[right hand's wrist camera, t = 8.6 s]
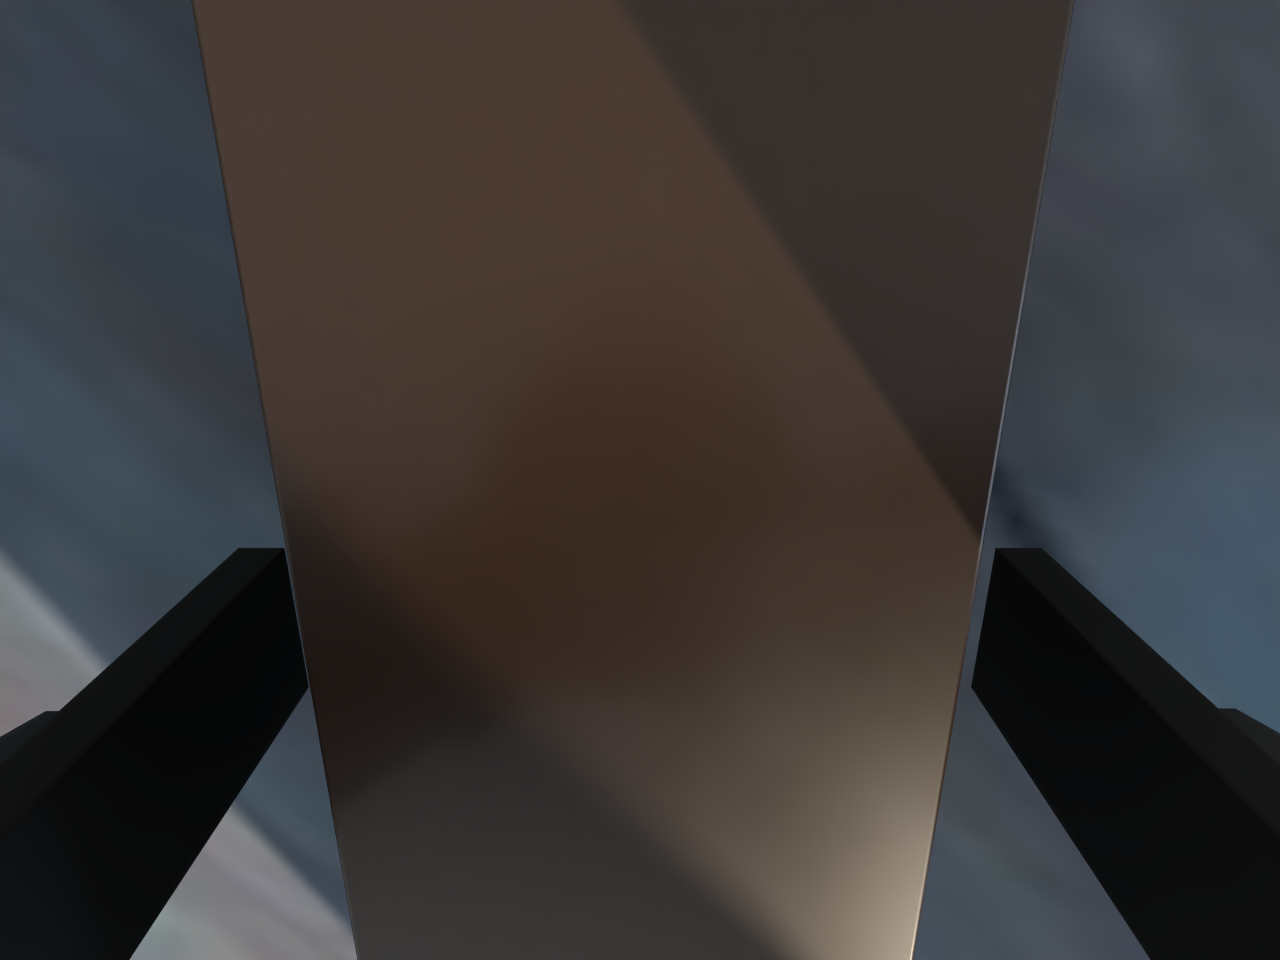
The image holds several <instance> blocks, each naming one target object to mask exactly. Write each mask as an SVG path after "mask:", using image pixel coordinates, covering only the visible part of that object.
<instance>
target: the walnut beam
mask: <svg viewBox="0 0 1280 960" xmlns="http://www.w3.org/2000/svg"><path fill="white" fill-rule="evenodd" d="M191 1H192V7H193V12H194V18H195V24H196V30H197V36H198V41H199V47H200V53H201V59H202V64H203V70H204V76H205V82H206V88H207V93H208V99H209V105H210V111H211V116H212V122H213V128H214V134H215V140H216V145H217V151H218V157H219V163H220V168H221V174H222V180H223V186H224V191H225V197H226V203H227V209H228V215H229V220H230V226H231V232H232V238H233V243H234V249H235V255H236V261H237V267H238V272H239V278H240V284H241V290H242V295H243V301H244V307H245V313H246V319H247V324H248V330H249V336H250V342H251V347H252V353H253V359H254V365H255V371H256V376H257V382H258V388H259V394H260V399H261V405H262V411H263V417H264V423H265V428H266V434H267V440H268V446H269V451H270V457H271V463H272V469H273V475H274V480H275V486H276V492H277V498H278V503H279V509H280V515H281V521H282V526H283V532H284V538H285V544H286V550H287V555H288V561H289V567H290V573H291V578H292V584H293V590H294V596H295V602H296V607H297V613H298V619H299V625H300V630H301V636H302V642H303V648H304V654H305V659H306V665H307V671H308V677H309V682H310V688H311V694H312V700H313V706H314V711H315V717H316V723H317V729H318V734H319V740H320V746H321V752H322V758H323V763H324V769H325V775H326V781H327V786H328V792H329V798H330V804H331V810H332V815H333V821H334V827H335V833H336V838H337V844H338V850H339V856H340V862H341V867H342V873H343V879H344V885H345V890H346V896H347V902H348V908H349V913H350V919H351V925H352V931H353V937H354V942H355V948H356V954H357V960H913V958H914V952H915V946H916V940H917V934H918V928H919V922H920V916H921V910H922V905H923V899H924V893H925V887H926V881H927V875H928V869H929V863H930V857H931V851H932V845H933V839H934V833H935V827H936V821H937V815H938V809H939V803H940V798H941V792H942V786H943V780H944V774H945V768H946V762H947V756H948V750H949V744H950V738H951V732H952V726H953V720H954V714H955V708H956V702H957V696H958V691H959V685H960V679H961V673H962V667H963V661H964V655H965V649H966V643H967V637H968V631H969V625H970V619H971V613H972V607H973V601H974V595H975V589H976V583H977V578H978V572H979V566H980V560H981V554H982V548H983V542H984V536H985V530H986V524H987V518H988V512H989V506H990V500H991V494H992V488H993V482H994V476H995V471H996V465H997V459H998V453H999V447H1000V441H1001V435H1002V429H1003V423H1004V417H1005V411H1006V405H1007V399H1008V393H1009V387H1010V381H1011V375H1012V369H1013V364H1014V358H1015V352H1016V346H1017V340H1018V334H1019V328H1020V322H1021V316H1022V310H1023V304H1024V298H1025V292H1026V286H1027V280H1028V274H1029V268H1030V262H1031V257H1032V251H1033V245H1034V239H1035V233H1036V227H1037V221H1038V215H1039V209H1040V203H1041V197H1042V191H1043V185H1044V179H1045V173H1046V167H1047V161H1048V155H1049V150H1050V144H1051V138H1052V132H1053V126H1054V120H1055V114H1056V108H1057V102H1058V96H1059V90H1060V84H1061V78H1062V72H1063V66H1064V60H1065V54H1066V48H1067V43H1068V37H1069V31H1070V25H1071V19H1072V13H1073V7H1074V1H1075V0H191Z"/></svg>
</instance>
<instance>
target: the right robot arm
mask: <svg viewBox="0 0 1280 960" xmlns="http://www.w3.org/2000/svg"><path fill="white" fill-rule="evenodd" d="M308 687H309V686H308V680H307V675H306V669H305V663H304V657H303V652H302V646H301V640H300V635H299V629H298V623H297V618H296V612H295V606H294V600H293V595H292V589H291V583H290V578H289V572H288V566H287V561H286V555H285V549H284V548H238V549H237V550H236V551H235V552H234V553H233V554H232V555H230V556H229V557H228V558H227V559H226V560H225V561H224V562H223V563H222V564H221V565H219V566H218V567H217V568H216V569H215V570H214V571H213V572H212V573H211V574H210V575H208V576H207V577H206V578H205V579H204V580H203V581H202V582H201V583H200V584H199V585H197V586H196V587H195V588H194V589H193V590H192V591H191V592H190V593H189V594H188V595H186V596H185V597H184V598H183V599H182V600H181V601H180V602H179V603H178V604H176V605H175V606H174V607H173V608H172V609H171V610H170V611H169V612H168V613H167V614H165V615H164V616H163V617H162V618H161V619H160V620H159V621H158V622H157V623H156V624H154V625H153V626H152V627H151V628H150V629H149V630H148V631H147V632H146V633H145V634H143V635H142V636H141V637H140V638H139V639H138V640H137V641H136V642H135V643H134V644H132V645H131V646H130V647H129V648H128V649H127V650H126V651H125V652H124V653H123V654H121V655H120V656H119V657H118V658H117V659H116V660H115V661H114V662H113V663H111V664H110V665H109V666H108V667H107V668H106V669H105V670H104V671H103V672H102V673H100V674H99V675H98V676H97V677H96V678H95V679H94V680H93V681H92V682H91V683H89V684H88V685H87V686H86V687H85V688H84V689H83V690H82V691H81V692H80V693H78V694H77V695H76V696H75V697H74V698H73V699H72V700H71V701H70V702H69V703H67V704H66V705H65V706H64V707H63V708H62V709H61V710H60V711H45V712H43V713H42V714H40V715H38V716H36V717H35V718H33V719H31V720H29V721H27V722H26V723H24V724H22V725H20V726H19V727H17V728H15V729H13V730H12V731H10V732H8V733H6V734H5V735H3V736H1V737H0V960H129V959H130V958H131V956H132V955H133V953H134V952H135V950H136V949H137V947H138V946H139V944H140V943H141V941H142V940H143V938H144V937H145V935H146V934H147V932H148V931H149V929H150V927H151V926H152V924H153V923H154V921H155V920H156V918H157V917H158V915H159V914H160V912H161V911H162V909H163V908H164V906H165V905H166V903H167V902H168V900H169V899H170V897H171V896H172V894H173V893H174V891H175V889H176V888H177V886H178V885H179V883H180V882H181V880H182V879H183V877H184V876H185V874H186V873H187V871H188V870H189V868H190V867H191V865H192V864H193V862H194V861H195V859H196V858H197V856H198V855H199V853H200V852H201V850H202V848H203V847H204V845H205V844H206V842H207V841H208V839H209V838H210V836H211V835H212V833H213V832H214V830H215V829H216V827H217V826H218V824H219V823H220V821H221V820H222V818H223V817H224V815H225V814H226V812H227V810H228V809H229V807H230V806H231V804H232V803H233V801H234V800H235V798H236V797H237V795H238V794H239V792H240V791H241V789H242V788H243V786H244V785H245V783H246V782H247V780H248V779H249V777H250V776H251V774H252V773H253V771H254V769H255V768H256V766H257V765H258V763H259V762H260V760H261V759H262V757H263V756H264V754H265V753H266V751H267V750H268V748H269V747H270V745H271V744H272V742H273V741H274V739H275V738H276V736H277V735H278V733H279V731H280V730H281V728H282V727H283V725H284V724H285V722H286V721H287V719H288V718H289V716H290V715H291V713H292V712H293V710H294V709H295V707H296V706H297V704H298V703H299V701H300V700H301V698H302V697H303V695H304V694H305V692H306V690H307V689H308ZM971 687H972V689H973V690H974V692H975V694H976V695H977V697H978V698H979V700H980V701H981V703H982V704H983V706H984V707H985V709H986V710H987V712H988V713H989V715H990V716H991V718H992V719H993V721H994V722H995V724H996V725H997V727H998V728H999V730H1000V732H1001V733H1002V735H1003V736H1004V738H1005V739H1006V741H1007V742H1008V744H1009V745H1010V747H1011V748H1012V750H1013V751H1014V753H1015V754H1016V756H1017V757H1018V759H1019V760H1020V762H1021V763H1022V765H1023V766H1024V768H1025V769H1026V771H1027V773H1028V774H1029V776H1030V777H1031V779H1032V780H1033V782H1034V783H1035V785H1036V786H1037V788H1038V789H1039V791H1040V792H1041V794H1042V795H1043V797H1044V798H1045V800H1046V801H1047V803H1048V804H1049V806H1050V807H1051V809H1052V811H1053V812H1054V814H1055V815H1056V817H1057V818H1058V820H1059V821H1060V823H1061V824H1062V826H1063V827H1064V829H1065V830H1066V832H1067V833H1068V835H1069V836H1070V838H1071V839H1072V841H1073V842H1074V844H1075V845H1076V847H1077V849H1078V850H1079V852H1080V853H1081V855H1082V856H1083V858H1084V859H1085V861H1086V862H1087V864H1088V865H1089V867H1090V868H1091V870H1092V871H1093V873H1094V874H1095V876H1096V877H1097V879H1098V880H1099V882H1100V883H1101V885H1102V886H1103V888H1104V890H1105V891H1106V893H1107V894H1108V896H1109V897H1110V899H1111V900H1112V902H1113V903H1114V905H1115V906H1116V908H1117V909H1118V911H1119V912H1120V914H1121V915H1122V917H1123V918H1124V920H1125V921H1126V923H1127V924H1128V926H1129V928H1130V929H1131V931H1132V932H1133V934H1134V935H1135V937H1136V938H1137V940H1138V941H1139V943H1140V944H1141V946H1142V947H1143V949H1144V950H1145V952H1146V953H1147V955H1148V956H1149V958H1150V959H1151V960H1280V734H1279V733H1278V732H1276V731H1274V730H1272V729H1271V728H1269V727H1267V726H1265V725H1263V724H1262V723H1260V722H1258V721H1256V720H1255V719H1253V718H1251V717H1249V716H1247V715H1246V714H1244V713H1242V712H1240V711H1239V710H1237V709H1218V708H1217V707H1216V706H1215V705H1214V704H1213V703H1211V702H1210V701H1209V700H1208V699H1207V698H1206V697H1205V696H1204V695H1203V694H1202V693H1200V692H1199V691H1198V690H1197V689H1196V688H1195V687H1194V686H1193V685H1192V684H1191V683H1189V682H1188V681H1187V680H1186V679H1185V678H1184V677H1183V676H1182V675H1181V674H1180V673H1178V672H1177V671H1176V670H1175V669H1174V668H1173V667H1172V666H1171V665H1170V664H1168V663H1167V662H1166V661H1165V660H1164V659H1163V658H1162V657H1161V656H1160V655H1159V654H1157V653H1156V652H1155V651H1154V650H1153V649H1152V648H1151V647H1150V646H1149V645H1148V644H1146V643H1145V642H1144V641H1143V640H1142V639H1141V638H1140V637H1139V636H1138V635H1137V634H1135V633H1134V632H1133V631H1132V630H1131V629H1130V628H1129V627H1128V626H1127V625H1126V624H1124V623H1123V622H1122V621H1121V620H1120V619H1119V618H1118V617H1117V616H1116V615H1115V614H1113V613H1112V612H1111V611H1110V610H1109V609H1108V608H1107V607H1106V606H1105V605H1103V604H1102V603H1101V602H1100V601H1099V600H1098V599H1097V598H1096V597H1095V596H1094V595H1092V594H1091V593H1090V592H1089V591H1088V590H1087V589H1086V588H1085V587H1084V586H1083V585H1081V584H1080V583H1079V582H1078V581H1077V580H1076V579H1075V578H1074V577H1073V576H1072V575H1070V574H1069V573H1068V572H1067V571H1066V570H1065V569H1064V568H1063V567H1062V566H1061V565H1059V564H1058V563H1057V562H1056V561H1055V560H1054V559H1053V558H1052V557H1051V556H1050V555H1048V554H1047V553H1046V552H1045V551H1044V550H1043V549H1042V548H996V549H995V555H994V560H993V566H992V572H991V578H990V583H989V589H988V595H987V600H986V606H985V612H984V617H983V623H982V629H981V635H980V640H979V646H978V652H977V657H976V663H975V669H974V674H973V680H972V686H971Z"/></svg>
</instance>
